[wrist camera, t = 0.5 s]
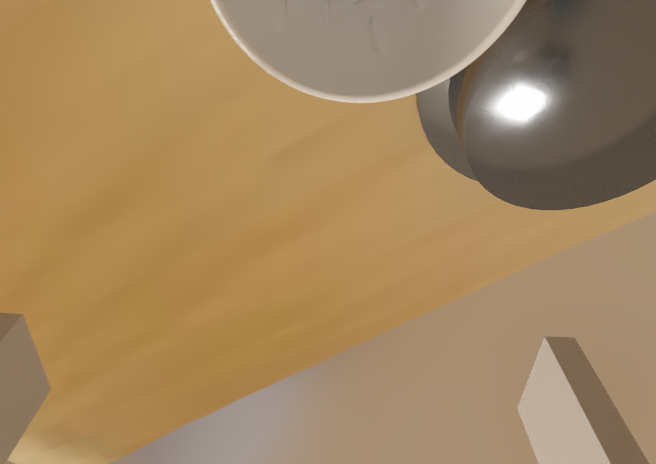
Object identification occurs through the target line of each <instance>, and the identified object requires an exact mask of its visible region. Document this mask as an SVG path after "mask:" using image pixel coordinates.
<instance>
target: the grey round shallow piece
mask: <svg viewBox="0 0 656 464" xmlns="http://www.w3.org/2000/svg"><path fill="white" fill-rule="evenodd" d="M416 99H417V108H418V112H419V116H420V120H421V123H422V127H423V129H424V131H425V134H426V136H427V138H428V141H429V142H430V144H431V145H432V147H433V148H434V150H435V151H436V153H437V154H438V155H439V156H440V157H441V158H442V159H443V160H444V161H445V163H447V164H448V165H449V166H451V167H452V168H453V169H454V170H456V171H457V172H459V173H461V174H463V175H464V176H466V177H468V178H470V179H473V180H476V181H478V182H480V183H481V185H482V186H483V187H484V188H485V189H486V190H488V191H489V192H490V193H491V194H493V195H494V196H496V197H498V198H499V199H501V200H503V201H505V202H508V203H510V204H513V205H516V206H520V207H525V208H529V209H538V210H563V209H573V208H579V207H585V206H590V205H593V204H597V203H601V202H605V201H608V200H611V199H614V198H616V197H619V196H622V195H624V194H627V193H629V192H631V191H634V190H636V189H638V188H640V187H642V186H644V185H646V184H648V183H650V182H652V181H654V180H655V179H656V0H527V1H526V2H525V4H524V6H523V7H522V9H521V10H520V12H519V13H518V14H517V16H516V17H515V19H514V20H513V21H512V23H511V24H510V25H509V26H508V28H507V29H506V30H505V31H504V32H503V33H502V35H501V36H500V37H499V38H498V39H497V40H496V41H495V42H494V43H493V44H492V45H491V46H490V47H489V48H488V49H487V50H486V51H485V52H484V53H483V54H482V55H481V56H479V57H478V58H477V59H476V60H475V61H473V62H472V63H471V64H469V65H468V66H467V67H465V68H464V69H463V70H461V71H460V72H458V73H457V74H455V75H453V76H452V77H450V78H448V79H447V80H445V81H443V82H441V83H439V84H437V85H435V86H433V87H431V88H429V89H426V90H424V91H421V92H419V93H416Z"/></svg>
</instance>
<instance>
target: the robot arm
mask: <svg viewBox="0 0 656 464" xmlns="http://www.w3.org/2000/svg"><path fill="white" fill-rule="evenodd" d="M50 390H51V387H50V384H49V382H48V379H47V376H46V374H45V371H44V369H43V366H42V363H41V361H40V358H39V355H38V353H37V350H36V347H35V345H34V342H33V340H32V337H31V334H30V332H29V329H28V326H27V324H26V321H25V318H24V316H23V314H9V313H0V464H5V462H6V461H7V459H8V457H9V456H10V454H11V453H12V451H13V449H14V448H15V446H16V445H17V443H18V441H19V440H20V438H21V437H22V435H23V433H24V432H25V430H26V429H27V427H28V425H29V424H30V422H31V421H32V419H33V417H34V416H35V414H36V413H37V411H38V409H39V408H40V406H41V405H42V403H43V401H44V400H45V398H46V396H47V395H48V393H49V392H50ZM518 411H519V414H520V416H521V419H522V421H523V424H524V427H525V429H526V432H527V435H528V437H529V440H530V442H531V445H532V448H533V450H534V453H535V455H536V458H537V461H538V463H539V464H649V463H648V461H647V459H646V457H645V456H644V454H643V452H642V451H641V449H640V447H639V446H638V444H637V442H636V441H635V439H634V437H633V436H632V434H631V432H630V431H629V429H628V427H627V425H626V424H625V422H624V420H623V419H622V417H621V415H620V414H619V412H618V410H617V408H616V407H615V405H614V403H613V402H612V400H611V398H610V397H609V395H608V393H607V391H606V390H605V388H604V387H603V385H602V383H601V381H600V380H599V378H598V376H597V375H596V373H595V371H594V370H593V368H592V366H591V364H590V363H589V361H588V359H587V358H586V356H585V354H584V353H583V351H582V350H581V347H580V346H579V344H578V342H577V341H576V339H575V338H569V337H544V340H543V343H542V345H541V347H540V350H539V353H538V355H537V358H536V361H535V363H534V366H533V368H532V371H531V374H530V376H529V379H528V382H527V384H526V387H525V389H524V392H523V394H522V397H521V400H520V403H519V405H518Z"/></svg>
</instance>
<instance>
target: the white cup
mask: <svg viewBox="0 0 656 464" xmlns="http://www.w3.org/2000/svg"><path fill="white" fill-rule="evenodd" d="M526 1H527V0H210V2H211V4H212V6H213V8H214V10H215V12H216V14H217V15H218V17H219V19H220V21H221V22H222V24H223V25H224V27H225V28H226V30H227V31H228V33H229V34H230V35H231V37H232V38H233V39H234V41H235V42H236V43H237V44H238V45H239V47H240V48H241V49H242V50H243V51H244V52H245V53H246V54H247V55H248V56H249V57H250V58H251V59H252V60H253V61H254V62H255V63H256V64H258V65H259V66H260V67H261V68H262V69H264V70H265V71H266V72H268V73H269V74H271V75H272V76H274V77H275V78H277V79H278V80H280V81H281V82H283V83H285V84H287V85H289V86H291V87H293V88H295V89H297V90H299V91H302V92H304V93H307V94H310V95H313V96H316V97H320V98H323V99H328V100H333V101H339V102H349V103H373V102H382V101H389V100H394V99H399V98H403V97H406V96H410V95H413V94H416V93H419V92H421V91H424V90H426V89H429V88H431V87H433V86H435V85H437V84H439V83H441V82H443V81H445V80H447V79H448V78H450V77H452V76H453V75H455V74H457V73H458V72H460V71H461V70H463V69H464V68H465V67H467V66H468V65H469V64H471V63H472V62H473V61H475V60H476V59H477V58H478V57H479V56H481V55H482V54H483V53H484V52H485V51H486V50H487V49H488V48H489V47H490V46H491V45H492V44H493V43H494V42H495V41H496V40H497V39H498V38H499V37H500V36H501V35H502V33H503V32H504V31H505V30H506V29H507V28H508V26H509V25H510V24H511V23H512V21H513V20H514V19H515V17H516V16H517V14H518V13H519V12H520V10H521V9H522V7H523V6H524V4H525V2H526Z"/></svg>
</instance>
